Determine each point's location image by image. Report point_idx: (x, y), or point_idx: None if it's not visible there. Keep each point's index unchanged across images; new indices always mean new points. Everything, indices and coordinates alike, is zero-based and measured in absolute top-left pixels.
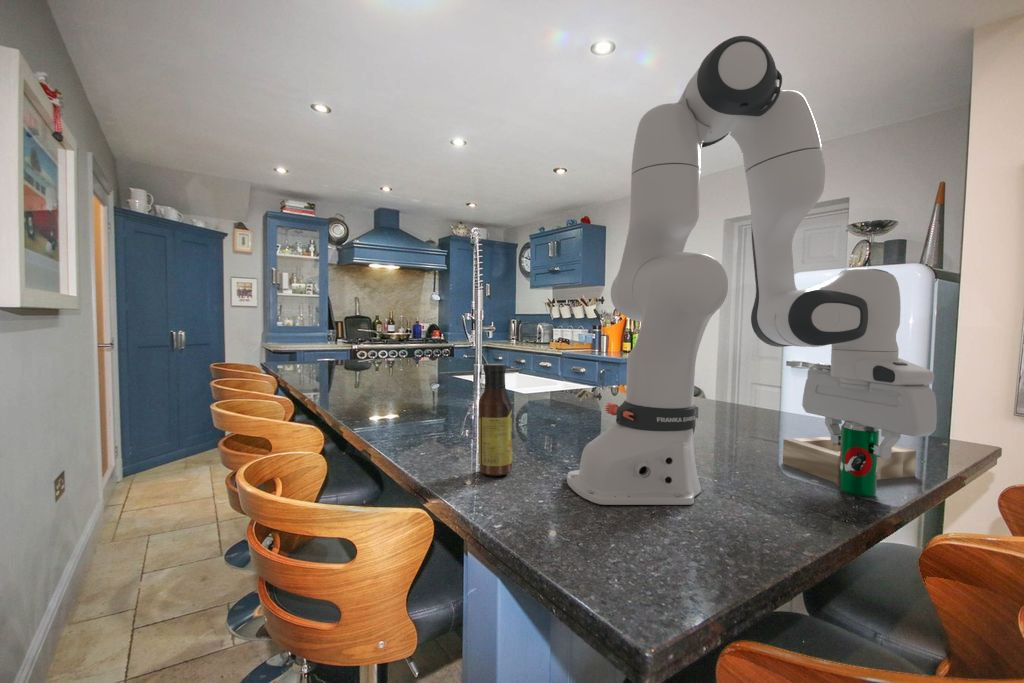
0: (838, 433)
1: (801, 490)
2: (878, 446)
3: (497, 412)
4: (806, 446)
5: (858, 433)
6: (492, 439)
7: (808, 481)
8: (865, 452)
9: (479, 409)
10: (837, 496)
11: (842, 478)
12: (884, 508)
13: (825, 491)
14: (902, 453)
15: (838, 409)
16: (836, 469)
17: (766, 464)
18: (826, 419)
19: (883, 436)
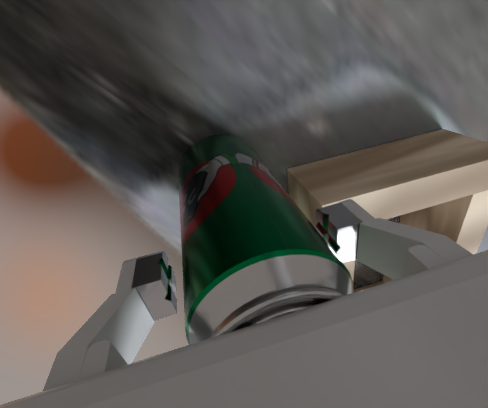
0: (360, 246)
1: (244, 7)
2: (136, 285)
3: None
4: (432, 174)
5: (207, 273)
6: None
7: (314, 101)
8: (184, 235)
9: None
10: (194, 99)
11: (227, 144)
12: (111, 167)
13: (234, 92)
14: None
15: (446, 349)
16: (305, 183)
17: (458, 73)
18: (457, 252)
19: (94, 343)
